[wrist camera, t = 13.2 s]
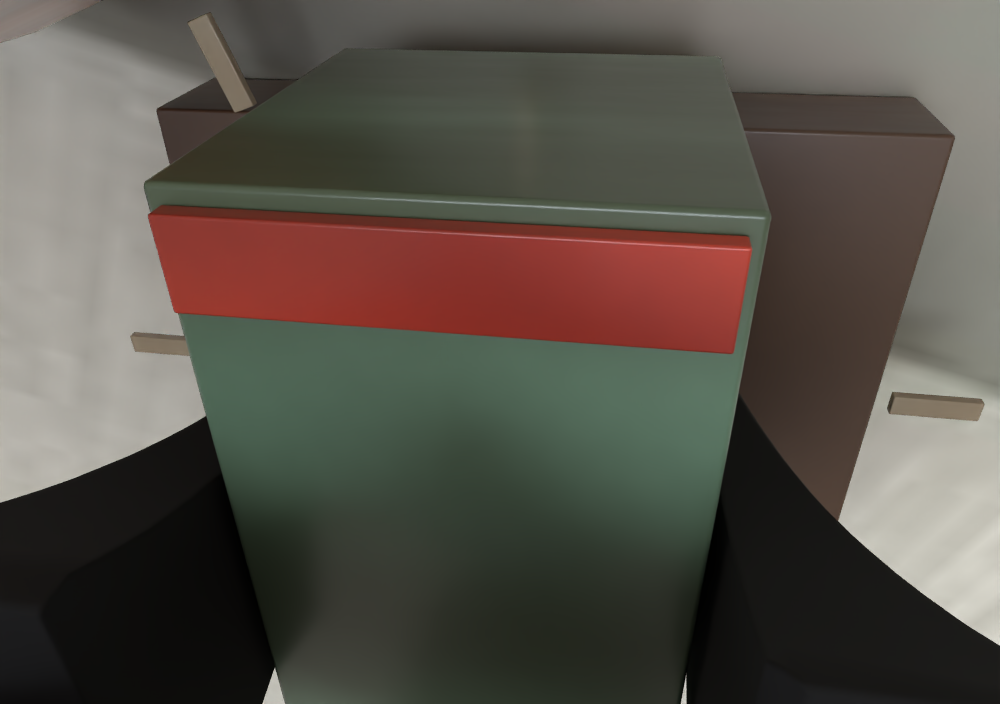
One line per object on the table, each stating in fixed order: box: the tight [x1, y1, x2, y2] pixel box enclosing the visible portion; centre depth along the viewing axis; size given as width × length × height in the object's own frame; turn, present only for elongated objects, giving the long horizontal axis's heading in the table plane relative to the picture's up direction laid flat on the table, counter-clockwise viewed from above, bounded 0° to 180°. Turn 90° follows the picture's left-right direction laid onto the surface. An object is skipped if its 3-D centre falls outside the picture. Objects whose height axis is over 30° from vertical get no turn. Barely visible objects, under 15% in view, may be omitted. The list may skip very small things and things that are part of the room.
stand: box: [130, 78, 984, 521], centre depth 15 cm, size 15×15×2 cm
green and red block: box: [144, 48, 771, 704], centre depth 12 cm, size 11×5×6 cm, turn 1°
